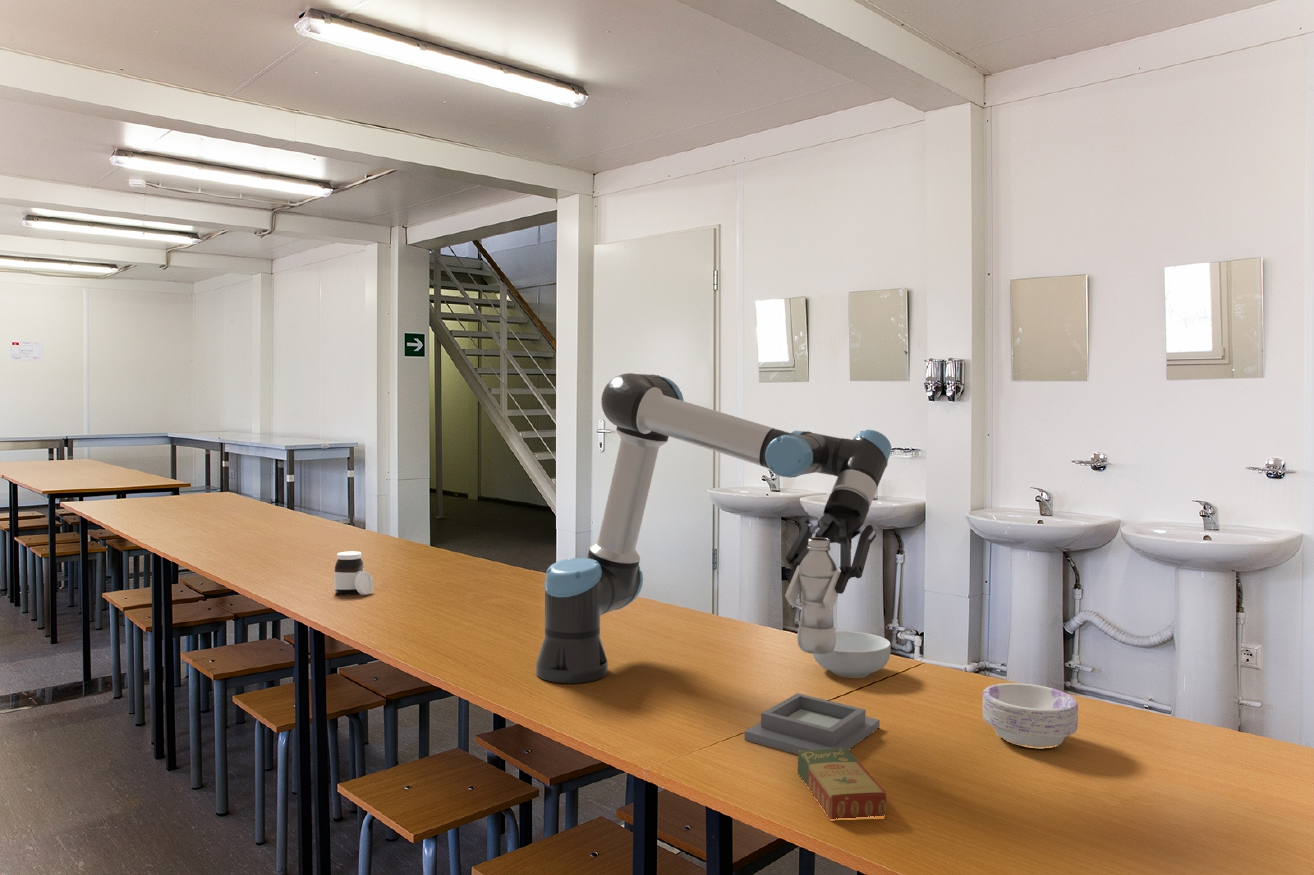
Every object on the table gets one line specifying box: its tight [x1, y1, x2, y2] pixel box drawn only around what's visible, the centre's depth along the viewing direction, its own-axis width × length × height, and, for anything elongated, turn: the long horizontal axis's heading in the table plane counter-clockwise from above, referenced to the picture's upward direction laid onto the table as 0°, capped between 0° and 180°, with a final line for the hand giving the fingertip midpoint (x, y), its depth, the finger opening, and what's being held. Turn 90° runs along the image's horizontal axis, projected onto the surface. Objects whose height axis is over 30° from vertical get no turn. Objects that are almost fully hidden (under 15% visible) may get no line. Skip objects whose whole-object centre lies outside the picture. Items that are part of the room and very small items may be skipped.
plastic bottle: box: [796, 537, 838, 655], centre depth 149 cm, size 6×7×20 cm
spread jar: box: [333, 550, 375, 596], centre depth 254 cm, size 12×11×12 cm
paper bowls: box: [982, 682, 1079, 747], centre depth 149 cm, size 15×15×8 cm
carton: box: [797, 748, 887, 819], centre depth 126 cm, size 8×16×4 cm, turn 7°
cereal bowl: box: [812, 630, 892, 679], centre depth 185 cm, size 17×17×7 cm
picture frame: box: [744, 692, 881, 755], centre depth 150 cm, size 20×16×4 cm
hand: (807, 603), depth 146 cm, fingers closed on plastic bottle, 6 cm apart
